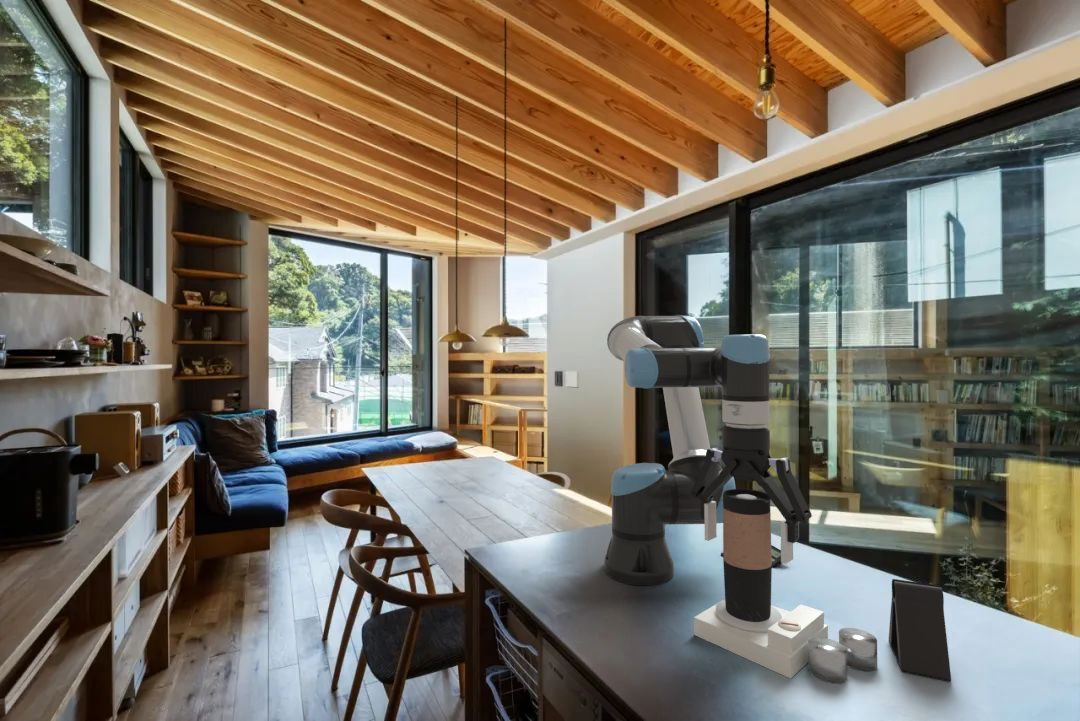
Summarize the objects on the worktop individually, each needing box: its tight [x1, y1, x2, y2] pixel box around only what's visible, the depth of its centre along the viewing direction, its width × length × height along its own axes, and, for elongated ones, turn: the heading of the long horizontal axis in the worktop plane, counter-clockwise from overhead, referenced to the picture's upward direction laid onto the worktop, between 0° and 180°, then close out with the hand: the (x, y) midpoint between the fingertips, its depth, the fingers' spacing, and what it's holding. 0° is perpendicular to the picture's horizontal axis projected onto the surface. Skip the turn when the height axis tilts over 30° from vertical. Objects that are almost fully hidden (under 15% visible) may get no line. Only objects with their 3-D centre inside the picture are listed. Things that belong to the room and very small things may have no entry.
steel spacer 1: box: [807, 637, 848, 684], centre depth 76 cm, size 5×5×4 cm
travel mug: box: [722, 488, 773, 622], centre depth 87 cm, size 8×8×20 cm
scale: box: [693, 598, 829, 679], centre depth 85 cm, size 16×14×6 cm
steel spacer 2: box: [838, 627, 878, 673], centre depth 78 cm, size 5×5×4 cm
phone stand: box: [888, 578, 952, 683], centre depth 78 cm, size 9×6×12 cm, turn 156°
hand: (746, 549), depth 87 cm, fingers open, 13 cm apart
